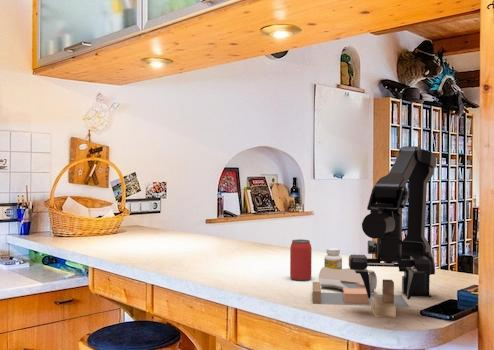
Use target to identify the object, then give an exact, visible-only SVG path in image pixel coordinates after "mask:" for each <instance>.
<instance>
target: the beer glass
mask: <svg viewBox="0 0 494 350" xmlns="http://www.w3.org/2000/svg"><path fill="white" fill-rule="evenodd" d="M367 270H368V272H369V283H370V295H372V294H375V292H376V290H377V286H378V279H377V278H378V276H377V274H376V272H375V271H374V270H370V269H367ZM318 282H320V288H322V289H330V288H332V289H338V290H341V291H343V288H359V289H365V285H364V282H363V279H362V277H361V275H360V274H358V273H356V272H355V270H351V269H350V267H349V268H342V269H331V268H328V267H324V266H323V267H321V269H320V270H319V273H318Z"/></svg>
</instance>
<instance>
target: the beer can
mask: <svg viewBox="0 0 494 350" xmlns="http://www.w3.org/2000/svg"><path fill="white" fill-rule="evenodd" d="M289 249H290V251H289V253H290V254H289V255H290V256H289V257H290V259H289V260H290V261H289V262H290V263H289V269H290V270H289V272H290V273H289V275H290V276H289V277H290V278H291V280H294V281H298V282H299V281H301V282H303V281H310V280H311V279H312V245H311V242H310V240H309V239H303V238H302V239H300V238H299V239H293V240H291V244H290V248H289Z"/></svg>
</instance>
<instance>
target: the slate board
mask: <svg viewBox="0 0 494 350" xmlns="http://www.w3.org/2000/svg"><path fill="white" fill-rule="evenodd" d="M321 288H322V287H321V286H320V282H319V281H312V304H314V305H335V306H336V305H338V306H339V305H340V306H368V307H369V306H370V307H371V297H382V294H375V293H374V294H372V295H370V298H368V304H355V303H344V300H343V292H341V293H340V292H322V289H321ZM394 305H395V306H396V308H397V307H399V308H410V305H409V304H408V303H407V301H406V299H405V298H404V297H403V295H401V294H394Z"/></svg>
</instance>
